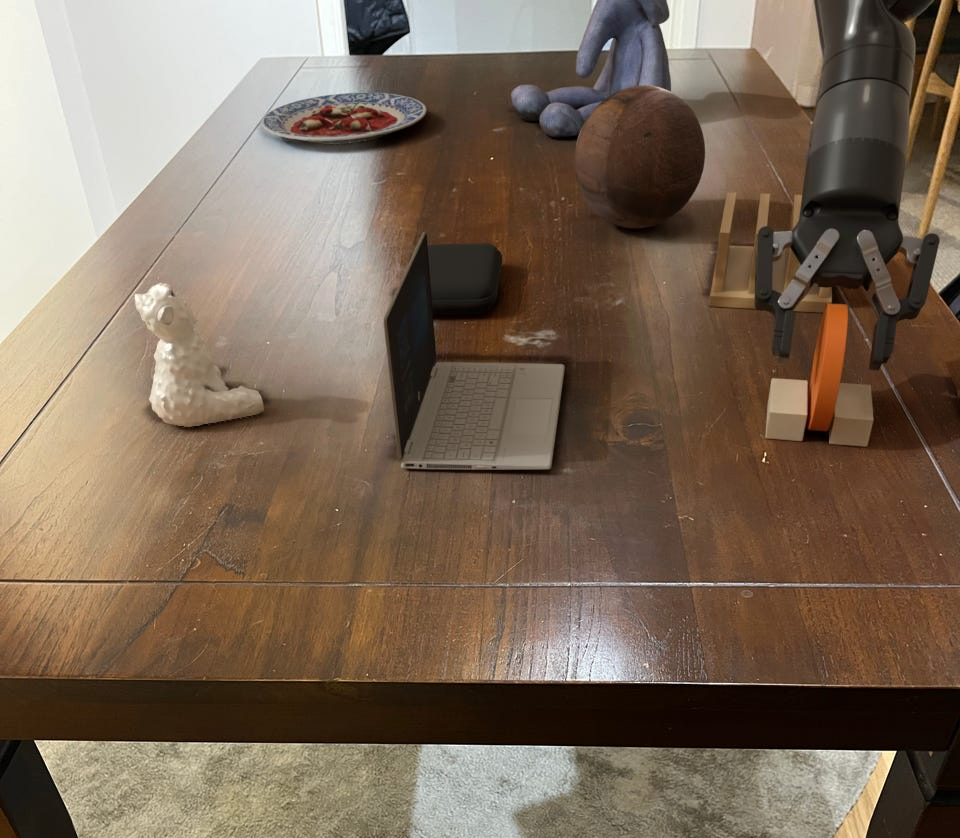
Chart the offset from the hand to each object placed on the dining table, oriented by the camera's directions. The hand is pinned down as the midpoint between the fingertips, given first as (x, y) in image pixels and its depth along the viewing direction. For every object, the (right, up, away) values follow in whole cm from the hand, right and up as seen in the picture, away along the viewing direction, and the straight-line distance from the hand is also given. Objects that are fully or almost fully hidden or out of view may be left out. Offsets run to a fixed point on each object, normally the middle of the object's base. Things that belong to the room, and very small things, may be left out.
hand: (829, 363), depth 80 cm
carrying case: (-31, +16, +30) cm, 46 cm away
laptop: (-27, -3, +9) cm, 29 cm away
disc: (+1, -4, +5) cm, 7 cm away
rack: (+3, +16, +28) cm, 32 cm away
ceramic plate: (-49, +59, +79) cm, 110 cm away
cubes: (+1, -4, +5) cm, 7 cm away
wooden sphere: (-9, +28, +42) cm, 52 cm away
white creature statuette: (-53, -1, +12) cm, 54 cm away
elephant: (-9, +60, +78) cm, 99 cm away
